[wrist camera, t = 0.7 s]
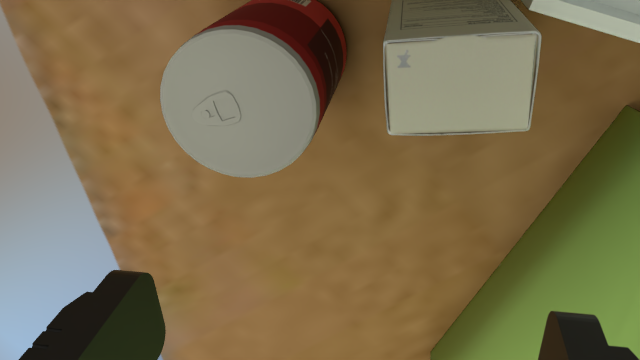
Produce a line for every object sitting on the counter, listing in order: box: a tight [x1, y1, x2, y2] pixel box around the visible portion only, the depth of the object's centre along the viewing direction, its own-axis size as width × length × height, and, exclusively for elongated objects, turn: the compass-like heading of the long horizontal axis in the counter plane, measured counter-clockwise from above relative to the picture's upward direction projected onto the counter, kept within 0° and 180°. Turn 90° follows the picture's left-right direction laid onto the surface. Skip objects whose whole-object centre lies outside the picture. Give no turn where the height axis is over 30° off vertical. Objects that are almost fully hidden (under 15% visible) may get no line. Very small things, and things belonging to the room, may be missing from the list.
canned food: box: [160, 0, 346, 178], centre depth 30 cm, size 8×8×11 cm
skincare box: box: [383, 0, 541, 136], centre depth 27 cm, size 6×4×12 cm
